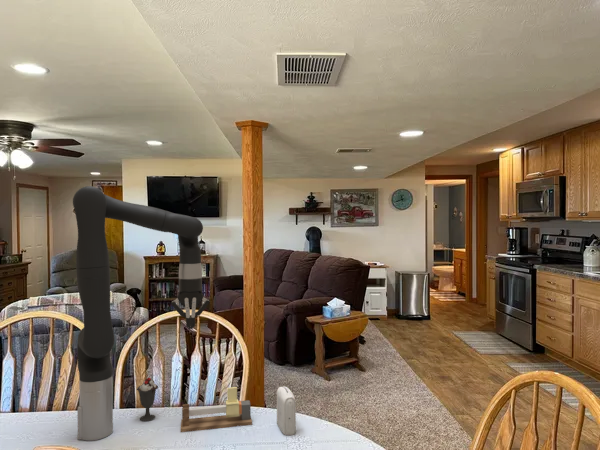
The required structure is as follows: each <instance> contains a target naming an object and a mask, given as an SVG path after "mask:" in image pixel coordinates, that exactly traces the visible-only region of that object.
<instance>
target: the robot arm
mask: <svg viewBox="0 0 600 450" xmlns="http://www.w3.org/2000/svg"><path fill="white" fill-rule="evenodd" d="M72 206H73V209H74V213H75V219H76V226H77V244H76V252H75V253H76V254H75V256H76V257H75V273H76V274H75V275H76V284H77V285H76V286H77V290H78V295H79V298H80V303H81V305H82V310H83V311H82V312H83V327H82V329H81V330H80V332H79V333H78V336H77V342H76V343H77V345H76V346H77V349H76V350H77V368H78V369H77V370H78V378H79V379H78V380H79V387H78V388H79V405H78V406H77V408H76V409H77V440H79V441H80V440H82V441H97V440H102V439H104V438H106V437H108V436H110V435H111V434H113V432H114V422H113V421H114V412H113V411H114V409H113V408H114V407H113V405H114V403H113V402H114V401H113V399H114V398H113V397H114V396H113V395H114V394H113V392H114V390H113V389H114V388H113V383H114V382H113V381H114V380H113V376H114V375H113V365H112V362H111V361H112V360H111V354H110V353H111V351H112V350H113V348H114V346H115V334H114V333H115V332H114V328H113V322H112V315H111V271H110V265H111V264H110V257H109V249H108V243H107V238H106V219H111V220H116V221H117V220H118V221H122V222H125V223H129V224H132V225H136V226H138V227H142V228H144V229H145V228H146V229H150V230H153V231H158V232H161V233H163V232H164V233H170V234H175V235H176V236H177V238H178V239H177V240H178V246H179V266H178V295H177V296H176V299H174V300H172V301H171V303H170V304H171V306H172V308H173V309H174V310H175V311H176V312H177V313H178V314H179V316H180V317H183V318H185V325H186V326H185V327H186V328H188V330H193V329H194V328H195V326H196V317H198V316H199V317H200V316H201V315H202V313H203V312H204V311H205V309H206V308H207V307H208V305H209V304H210V299H207V298H206V297H204V294H203V272H202V271H203V268H202V251H201V247H200V246H199V236H201V234H202V233H203V230H204V226H203V223H202V221H201V220H200V219H198V218H197V217H194V216H189V215H185V214H181V213H174V212H171V211H168V210H164V209H161V208H159V207H154V206H149V205H144V204H140V203H139V204H138V203H132V202H128V201H124V200H121V199H116V198H114V197H112V196H109V195H107V194H104V192H103V191H102V190H101V189H100V188H98V187H96V186H93V185H87V186H83V187H80V188H79V189H78V190H76V192H75V193H74V195H73V197H72ZM200 303H201V306H200V307H199V309H198V310H197V311H196V307H198V306H199V305H200ZM180 304H181V305H182V307H184V308H185V311H184V310H183V309H182V308H181V306H180ZM190 308H191V309H190Z"/></svg>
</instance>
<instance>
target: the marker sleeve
mask: <svg viewBox="0 0 600 450" xmlns="http://www.w3.org/2000/svg"><path fill="white" fill-rule="evenodd" d="M226 391H227V394H226V395H227V396H226V397H227V399H225V405H226V413H225V415H226V417H236V416H239V401H240V400H239V399H238V387H237V386H235V387H234V386H232V387H227V390H226Z"/></svg>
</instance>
